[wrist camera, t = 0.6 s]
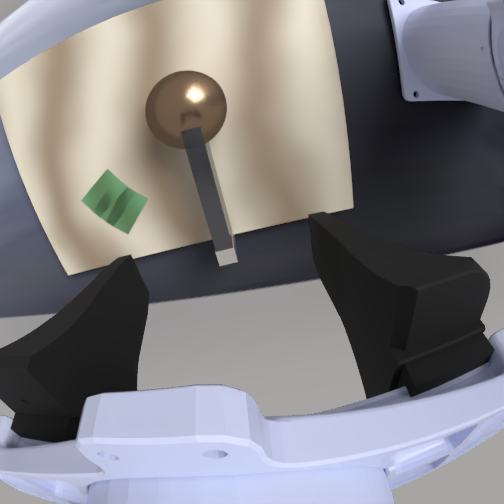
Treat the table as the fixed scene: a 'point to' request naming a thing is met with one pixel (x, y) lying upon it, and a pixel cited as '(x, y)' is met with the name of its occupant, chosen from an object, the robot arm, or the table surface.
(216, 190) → the bronze ball with handle
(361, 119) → the table surface
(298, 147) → the board
